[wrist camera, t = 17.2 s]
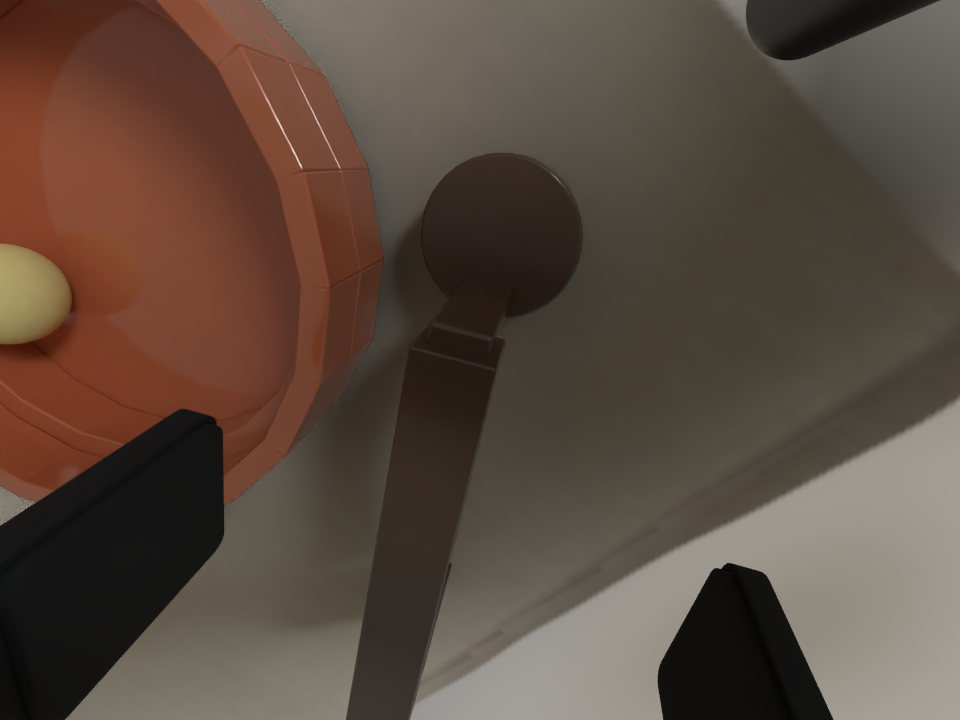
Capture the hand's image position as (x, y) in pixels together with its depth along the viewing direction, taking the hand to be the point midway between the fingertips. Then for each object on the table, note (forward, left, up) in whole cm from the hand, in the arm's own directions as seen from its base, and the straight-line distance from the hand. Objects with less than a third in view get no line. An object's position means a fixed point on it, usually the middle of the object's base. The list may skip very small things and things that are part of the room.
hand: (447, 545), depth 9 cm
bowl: (+12, -2, -7) cm, 14 cm away
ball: (+15, 0, -5) cm, 16 cm away
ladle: (+1, +1, -7) cm, 7 cm away
